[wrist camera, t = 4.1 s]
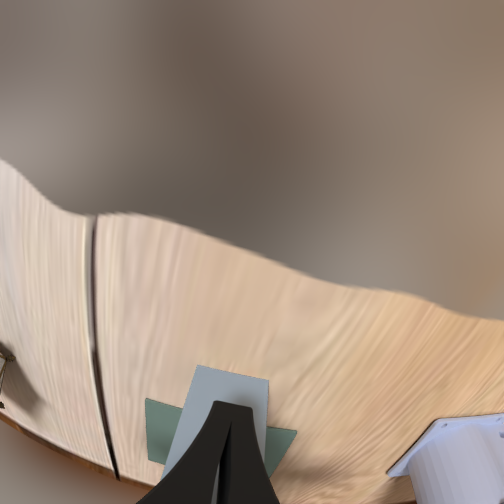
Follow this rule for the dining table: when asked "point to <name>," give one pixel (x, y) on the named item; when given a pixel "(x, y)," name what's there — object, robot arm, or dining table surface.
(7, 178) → the dining table surface
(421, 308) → the dining table surface
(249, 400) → the slate-blue block
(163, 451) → the felt mat
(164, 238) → the dining table surface
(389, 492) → the dining table surface
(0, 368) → the game die
